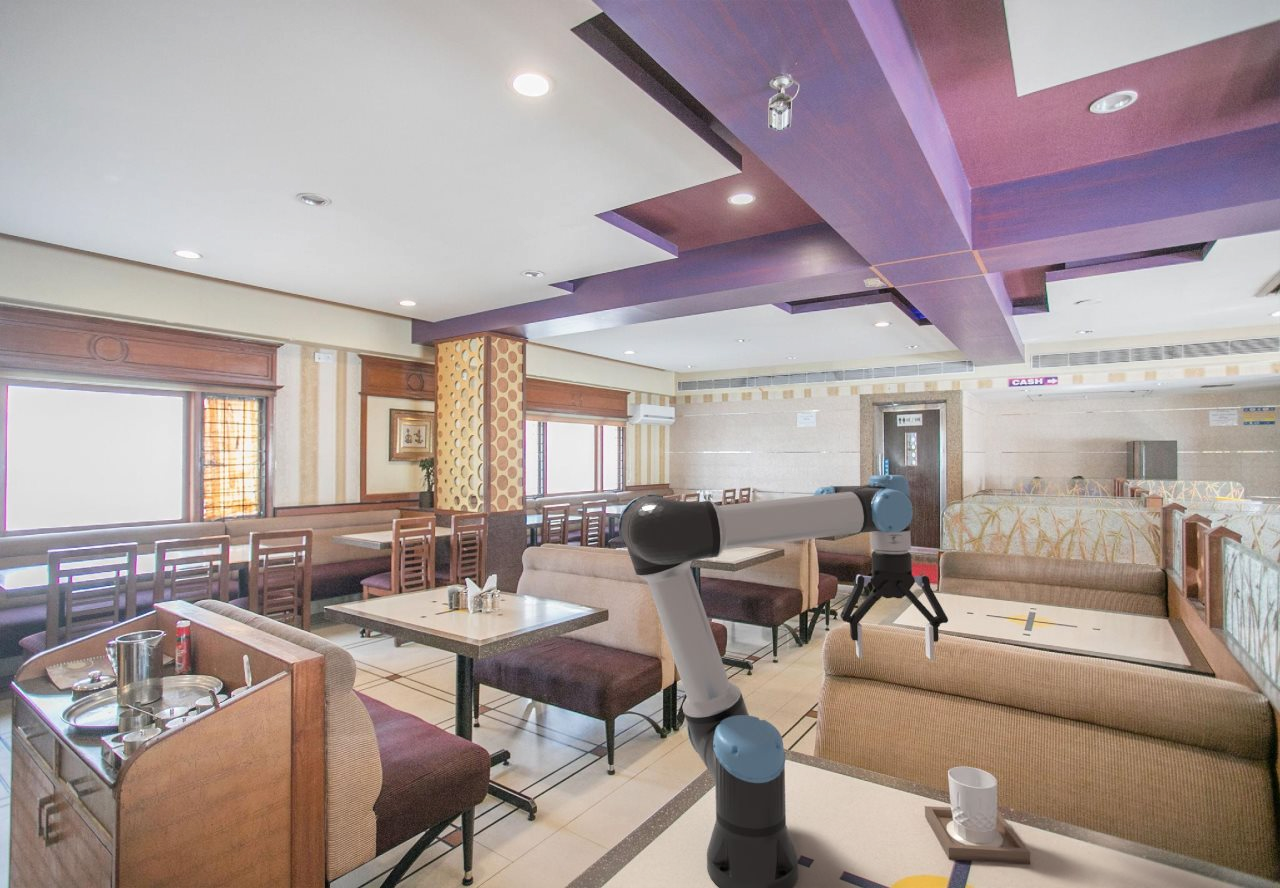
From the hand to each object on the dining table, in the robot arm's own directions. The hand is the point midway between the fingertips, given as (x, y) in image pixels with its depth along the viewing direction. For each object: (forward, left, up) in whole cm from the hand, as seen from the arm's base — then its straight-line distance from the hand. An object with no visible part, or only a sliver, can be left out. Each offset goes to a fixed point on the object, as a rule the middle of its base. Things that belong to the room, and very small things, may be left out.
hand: (894, 657), depth 127 cm
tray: (+10, -11, -29) cm, 32 cm away
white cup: (+10, -11, -28) cm, 32 cm away
